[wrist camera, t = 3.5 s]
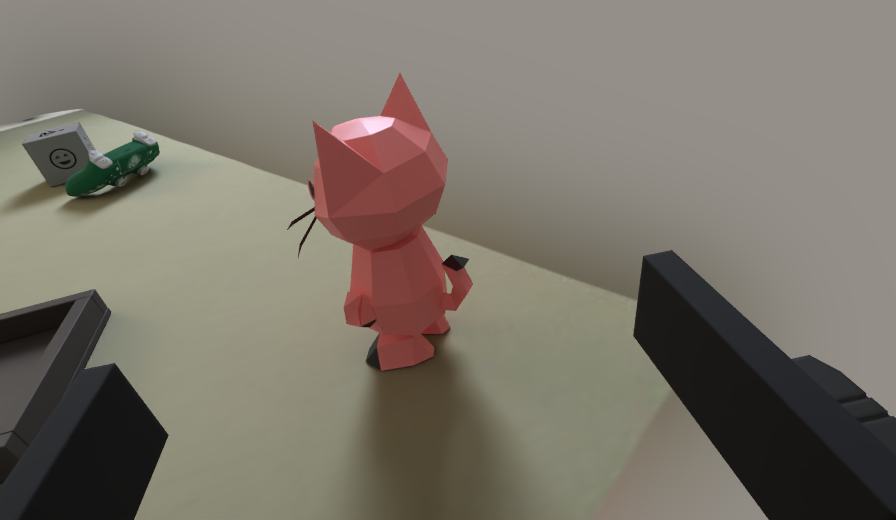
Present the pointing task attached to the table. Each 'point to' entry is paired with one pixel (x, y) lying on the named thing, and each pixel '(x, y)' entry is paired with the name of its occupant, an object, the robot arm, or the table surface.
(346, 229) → the cat figurine
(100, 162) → the green elongated piece
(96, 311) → the black tray
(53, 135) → the dice cube
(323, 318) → the table surface
